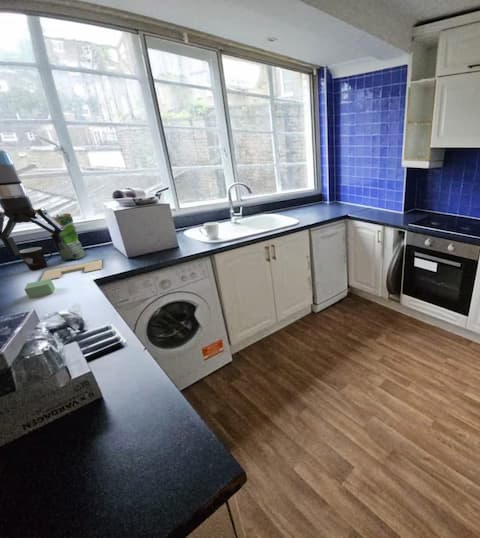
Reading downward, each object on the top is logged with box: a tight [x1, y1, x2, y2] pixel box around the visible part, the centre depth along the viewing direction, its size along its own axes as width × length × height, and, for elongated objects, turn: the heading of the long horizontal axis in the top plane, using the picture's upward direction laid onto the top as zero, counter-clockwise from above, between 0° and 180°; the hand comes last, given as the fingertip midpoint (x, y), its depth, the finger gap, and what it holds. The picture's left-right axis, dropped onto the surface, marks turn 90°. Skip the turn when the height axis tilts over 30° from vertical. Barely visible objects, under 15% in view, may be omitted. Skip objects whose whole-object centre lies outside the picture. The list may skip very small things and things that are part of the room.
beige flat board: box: [39, 259, 103, 281], centre depth 147 cm, size 22×16×1 cm
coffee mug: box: [18, 246, 53, 271], centre depth 151 cm, size 12×9×10 cm
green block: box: [23, 279, 56, 300], centre depth 123 cm, size 7×7×6 cm
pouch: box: [46, 212, 87, 261], centre depth 161 cm, size 11×12×25 cm
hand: (39, 252), depth 113 cm, fingers open, 13 cm apart
